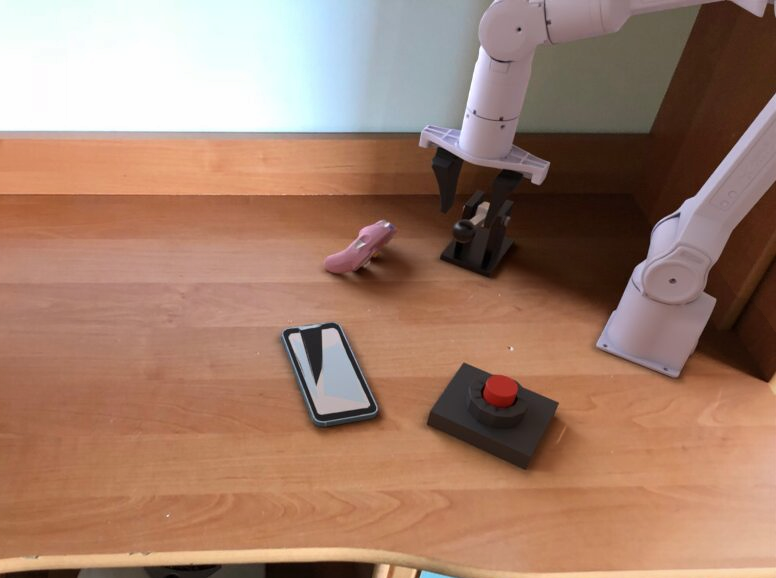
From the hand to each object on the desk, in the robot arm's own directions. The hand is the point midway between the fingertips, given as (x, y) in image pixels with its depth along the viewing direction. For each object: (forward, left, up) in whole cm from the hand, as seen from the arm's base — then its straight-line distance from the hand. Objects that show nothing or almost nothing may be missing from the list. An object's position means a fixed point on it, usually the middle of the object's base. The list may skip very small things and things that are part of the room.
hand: (467, 216), depth 95 cm
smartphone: (+5, +23, -10) cm, 26 cm away
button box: (-13, +19, -10) cm, 25 cm away
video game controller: (+12, +2, -11) cm, 16 cm away
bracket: (0, -9, -10) cm, 14 cm away
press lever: (0, -4, -5) cm, 6 cm away
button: (-13, +19, -7) cm, 24 cm away
